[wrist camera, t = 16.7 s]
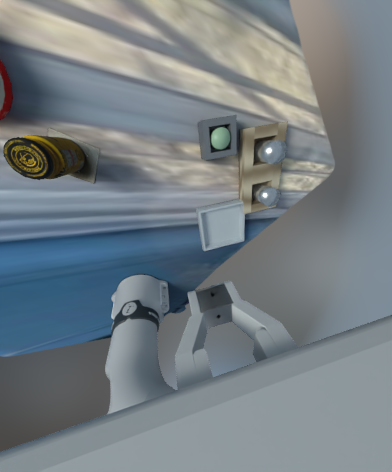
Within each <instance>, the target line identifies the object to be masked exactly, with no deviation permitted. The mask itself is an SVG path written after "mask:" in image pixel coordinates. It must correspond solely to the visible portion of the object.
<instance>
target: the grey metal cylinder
mask: <svg viewBox="0 0 392 472" xmlns="http://www.w3.org/2000/svg"><path fill="white" fill-rule="evenodd" d="M286 153H287V145H286V143H285V142H284V141H281V140H271V141H258V142H256V143H255V144H254V158H253V160H255V161H259V162H264V163H269V164H278V163H280V162H281V161H282V160H283V159H284V157H285V156H286Z"/></svg>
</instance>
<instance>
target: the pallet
mask: <svg viewBox="0 0 392 472" xmlns="http://www.w3.org/2000/svg"><path fill="white" fill-rule="evenodd" d="M287 123H288V121H287V122H281V123H275V124H270V125H264V126H258V127H252V128H246V129H241V130H239V199H240V200H242V201H243V214H247V213H251V212H256V211H260V210H264V209H268V208H272V207H276V205H274V206H272V207H268V206H266V205H264V204H262V203H260V202H258V201H257V200H255V199H253V198H252V186H253V185H254V184H257V183H262V184H264V185H267V186H270V187H273V188H275V189H279V182H280V174H281V167H282V161H281V162H280V163H278V164H269V163H264V162H259V161H255V160H253V158H254V144H255V143H256V142H258V141H271V140H281V141H284V142H285V138H286V131H287Z"/></svg>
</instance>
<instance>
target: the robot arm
mask: <svg viewBox="0 0 392 472" xmlns="http://www.w3.org/2000/svg"><path fill="white" fill-rule="evenodd" d="M188 298H189V303H190V308H191V312H192V316H190V318H189V320H188V323H187V326H186V329H185V331H184V334H183V337H182V339H181V342H180V345H179V347H178V350H177V353H176V356H175V363H176V375H177V387H178V390H175V389H173V388H172V387H170V386H169V385H168V384H167V383H166V382H165V381H164V378H163V376H162V373H161V370H160V366H159V361H158V344H157V332H158V329H159V324H160V323H161V322H162V321H163V320H164V313H166V312H168V310H169V294H168V283H167V282H166V281H162V280H158V279H156V278H154V277H152V276H148V275H135V276H131V277H128V278H126V279H125V280H123V281H122V282H121V283H120V284H119V286H118V288H117V291H116V292H115V293H114V294H113V295H112V298H111V300H112V301H113V302H114V304H113V310H112V319H113V320H114V322H113V325H112V332H111V334H112V339H111V344H110V348H109V353H108V357H107V362H106V366H105V372H106V375H107V377H108V378H109V379H110V383H111V384H110V385H111V401H110V407H109V411H108V414H107V415H105V416H101V417H99V418H96V419H93V420H91V421H87V422H84V423H81V424H79V425H76V426H73V427H70V428H68V429H64V430H62V431H59V432H56V433H53V434H50V435H47V436H44V437H42V438H39V439H36V440H33V441H30V442H27V443H25V444H22V445H19V446H16V447H13V448H10V449H8V450H5V451H2V452H0V472H392V315H390V316H387V317H384V318H382V319H379V320H376V321H373V322H370V323H367V324H364V325H361V326H359V327H356V328H353V329H350V330H347V331H344V332H342V333H339V334H336V335H333V336H330V337H327V338H324V339H321V340H319V341H316V342H313V343H310V344H307V345H304V346H301V347H299V348H298V347H297V345H296V344H295V342H294V341H293V339H292V338H291V336H290V335H289V334H288V332H287V331H286V329H285V328H284V326H283V325H282V324H281V322H279V321H277V320H276V319H274V318H273V317H271V316H269V315H268V314H266V313H265V312H263V311H261V310H260V309H258V308H256V307H255V306H253V305H252V304H250V303H248V302H247V301H245V300H243V301H242V299H241V298H240V296H239V294H238V292H237V290H236V289H235V287H234V285H233V283H232V281H227V282H223V283H219V284H216V285H213V286H210V287H206V288H203V289H199V290H195V291H191V292H188ZM231 321H232V322H233V323H234V324H236V325H237V326H238V327H239V328H240V329H241V330H242V331H243V332H245V333H246V334H247V335H248V336H249V337H250V338H251V339H253V340H254V341H255V342H254V350H253V355H254V358H255V360H256V363H253V364H250V365H247V366H244V367H241V368H239V369H236V370H233V371H230V372H227V373H224V374H221V375H219V376H216V377H213V376H212V373H211V368H210V364H209V360H208V356H207V352H206V350H204V349H203V347H204V342H205V338H206V334H207V329H208V328H211V327H214V326H217V325H220V324H223V323H227V322H231Z"/></svg>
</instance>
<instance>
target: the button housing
mask: <svg viewBox="0 0 392 472" xmlns="http://www.w3.org/2000/svg"><path fill="white" fill-rule="evenodd" d="M220 127H224V128H226V129H227V130H228V131H229V133H230V142H229V144H228V146H227V147H226V148H224V149H214V148H212V147H211V146H210V136H209V134H210V132H211V131H212V130H214V129H216V128H220ZM198 132H199V140H200V149H201V158H202V159H204V160H210V159H216V158H221V157H226V156H231V155H237V143H236V115H233V116H227V117H220V118H214V119H208V120H202V121H200V122H198Z"/></svg>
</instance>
